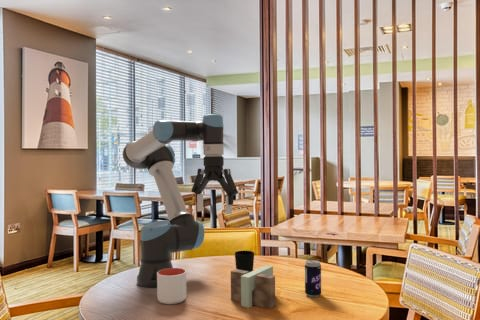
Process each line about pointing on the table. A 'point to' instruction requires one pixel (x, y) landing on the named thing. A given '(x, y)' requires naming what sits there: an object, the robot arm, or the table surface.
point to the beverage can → (313, 278)
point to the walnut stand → (261, 294)
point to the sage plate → (252, 284)
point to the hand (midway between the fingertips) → (214, 212)
